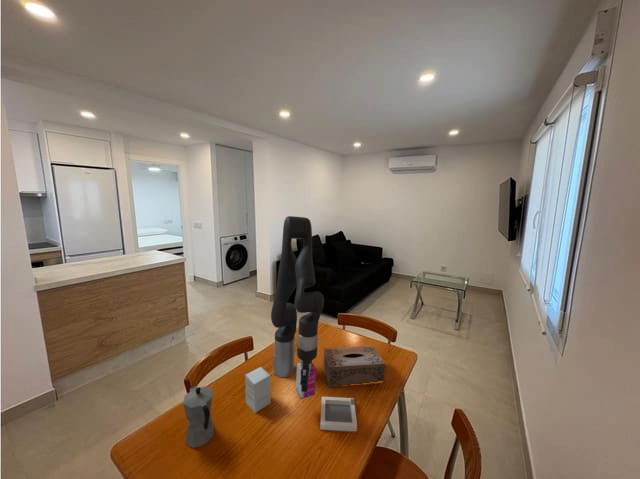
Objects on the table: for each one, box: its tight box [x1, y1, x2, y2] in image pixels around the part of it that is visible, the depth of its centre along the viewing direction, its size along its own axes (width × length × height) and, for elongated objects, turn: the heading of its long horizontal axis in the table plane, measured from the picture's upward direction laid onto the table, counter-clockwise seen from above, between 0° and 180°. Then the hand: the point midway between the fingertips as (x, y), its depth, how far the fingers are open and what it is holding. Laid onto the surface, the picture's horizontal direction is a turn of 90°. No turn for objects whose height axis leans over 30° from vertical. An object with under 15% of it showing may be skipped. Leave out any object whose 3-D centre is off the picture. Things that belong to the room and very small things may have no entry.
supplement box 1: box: [244, 366, 272, 414], centre depth 100 cm, size 7×7×13 cm
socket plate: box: [319, 396, 358, 433], centre depth 95 cm, size 13×13×3 cm
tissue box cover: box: [322, 345, 386, 388], centre depth 119 cm, size 26×14×10 cm, turn 98°
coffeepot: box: [182, 385, 215, 449], centre depth 84 cm, size 15×9×18 cm, turn 43°
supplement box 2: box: [295, 362, 317, 400], centre depth 95 cm, size 6×6×12 cm
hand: (305, 383), depth 95 cm, fingers closed on supplement box 2, 7 cm apart
